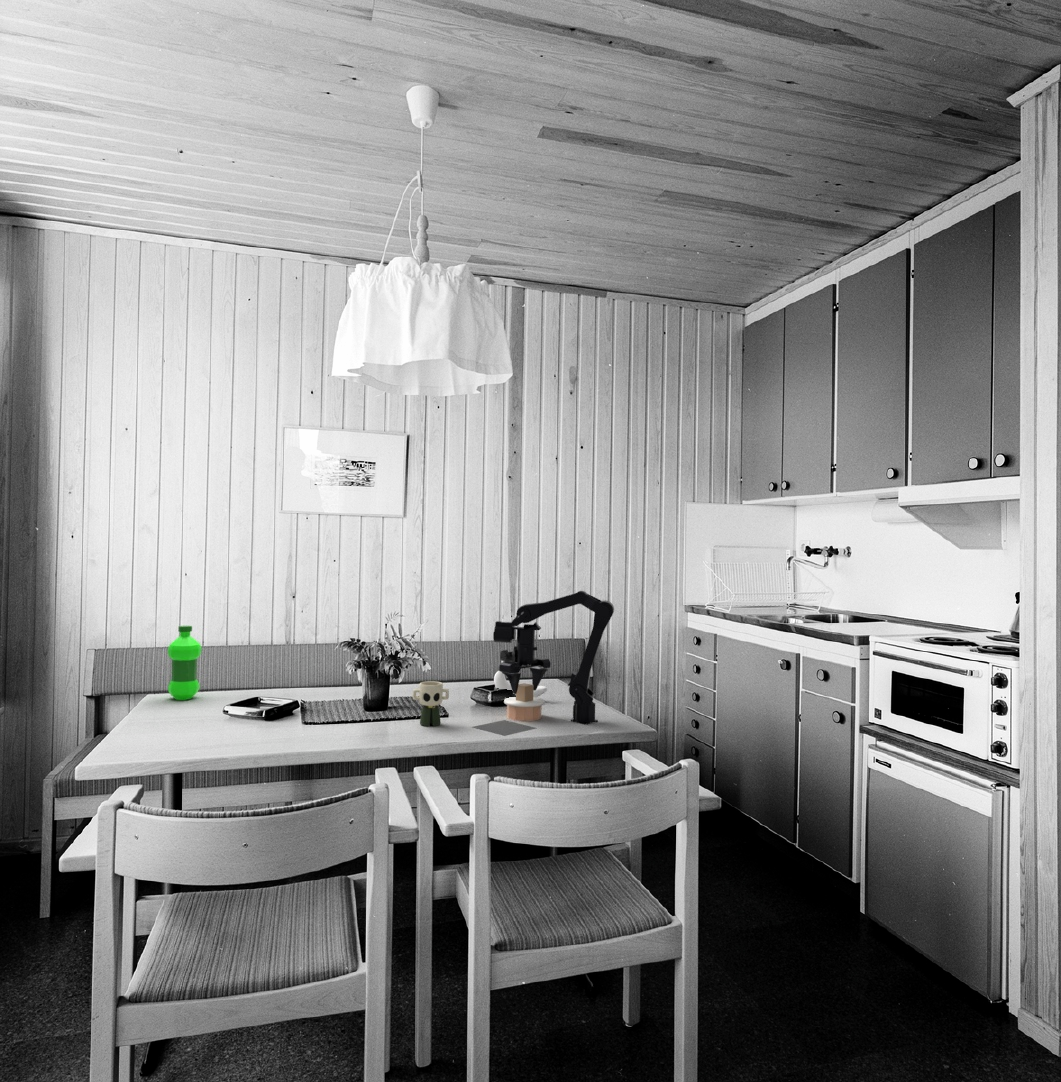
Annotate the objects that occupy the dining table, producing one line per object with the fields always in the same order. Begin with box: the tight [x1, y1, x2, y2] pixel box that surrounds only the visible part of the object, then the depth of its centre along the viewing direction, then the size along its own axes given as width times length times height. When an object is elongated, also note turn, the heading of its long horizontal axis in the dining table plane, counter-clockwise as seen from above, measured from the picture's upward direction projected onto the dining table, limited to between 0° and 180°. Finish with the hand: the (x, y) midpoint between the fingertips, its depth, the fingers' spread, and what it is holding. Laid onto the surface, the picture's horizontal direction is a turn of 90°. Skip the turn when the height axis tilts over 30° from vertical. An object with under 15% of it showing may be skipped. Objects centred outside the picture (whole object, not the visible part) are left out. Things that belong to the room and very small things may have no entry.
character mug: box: [412, 680, 450, 727], centre depth 237 cm, size 11×7×13 cm, turn 103°
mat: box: [472, 719, 537, 736], centre depth 235 cm, size 14×14×1 cm
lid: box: [503, 682, 546, 707], centre depth 250 cm, size 13×13×6 cm
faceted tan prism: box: [506, 704, 543, 722], centre depth 250 cm, size 11×11×5 cm
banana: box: [493, 661, 548, 698], centre depth 277 cm, size 5×19×15 cm, turn 96°
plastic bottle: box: [167, 625, 202, 701], centre depth 268 cm, size 10×10×25 cm
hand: (524, 692), depth 250 cm, fingers open, 9 cm apart
